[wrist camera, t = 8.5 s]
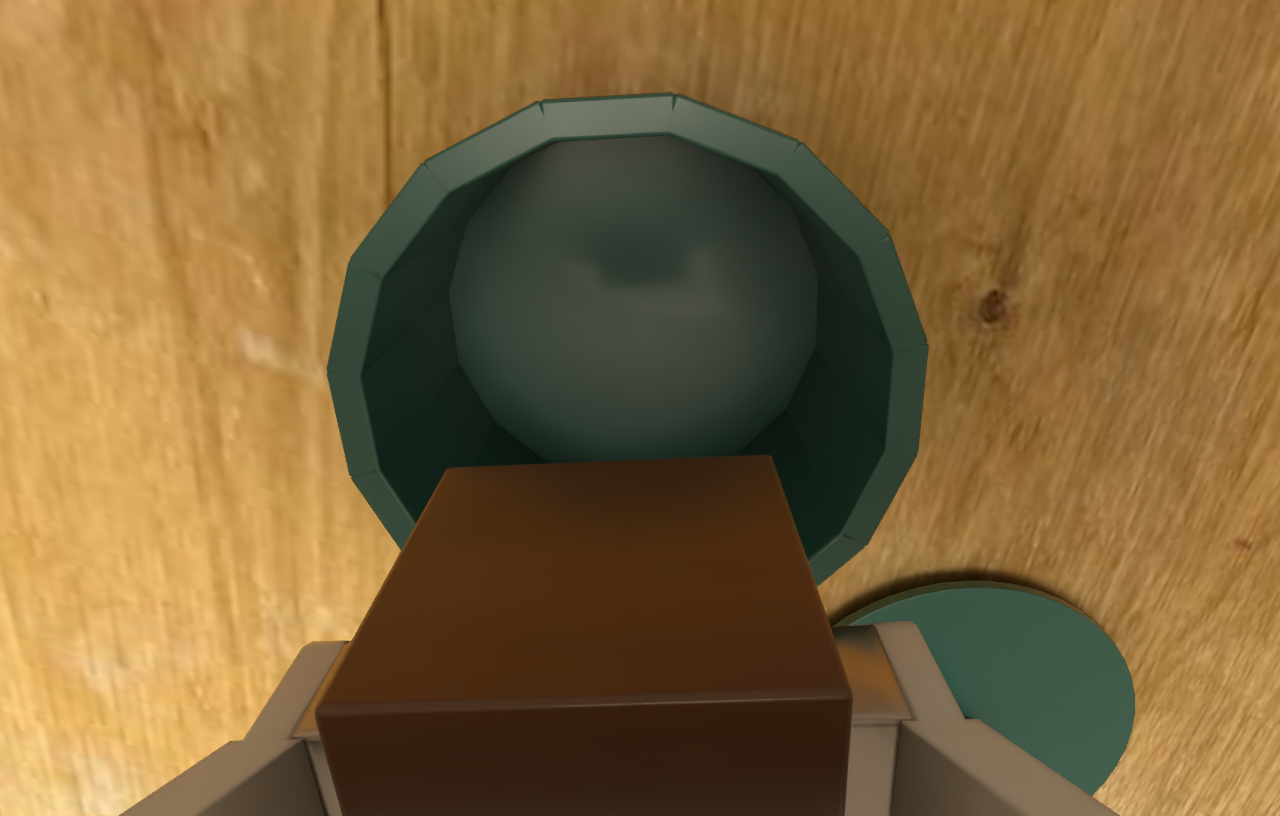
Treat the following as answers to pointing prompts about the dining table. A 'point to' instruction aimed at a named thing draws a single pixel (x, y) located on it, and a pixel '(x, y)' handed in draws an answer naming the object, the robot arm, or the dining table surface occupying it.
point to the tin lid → (1024, 670)
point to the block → (595, 652)
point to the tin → (631, 315)
